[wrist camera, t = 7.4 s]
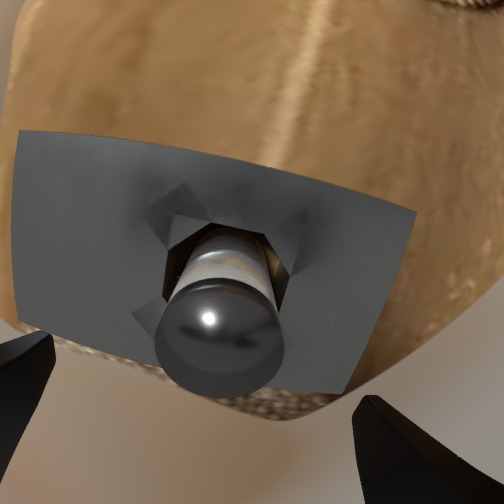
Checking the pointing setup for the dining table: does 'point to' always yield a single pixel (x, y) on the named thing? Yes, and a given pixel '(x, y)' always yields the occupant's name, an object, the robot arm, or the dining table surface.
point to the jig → (182, 226)
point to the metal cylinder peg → (222, 319)
